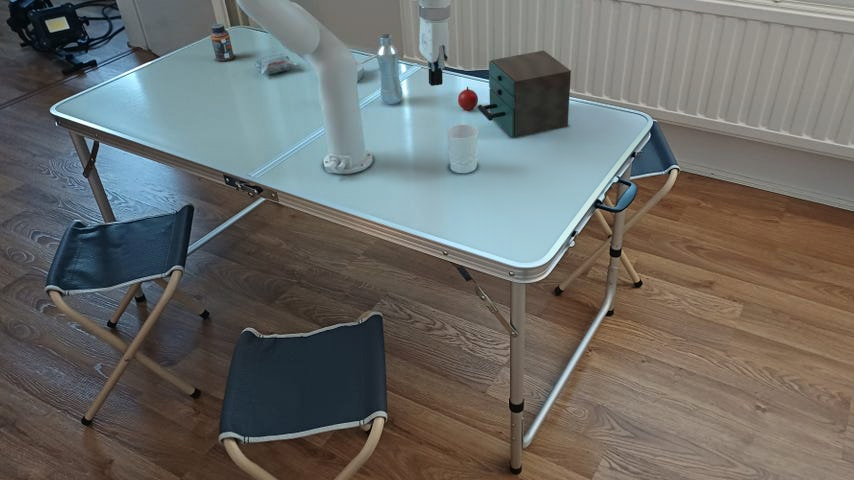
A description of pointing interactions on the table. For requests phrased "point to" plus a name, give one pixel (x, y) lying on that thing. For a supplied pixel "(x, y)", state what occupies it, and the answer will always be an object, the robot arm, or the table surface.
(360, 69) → the small pan
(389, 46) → the silver water bottle
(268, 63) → the packaged food
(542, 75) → the cabinet
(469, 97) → the apple
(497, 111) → the drawer
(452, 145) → the white cup
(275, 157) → the table surface
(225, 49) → the supplement bottle
